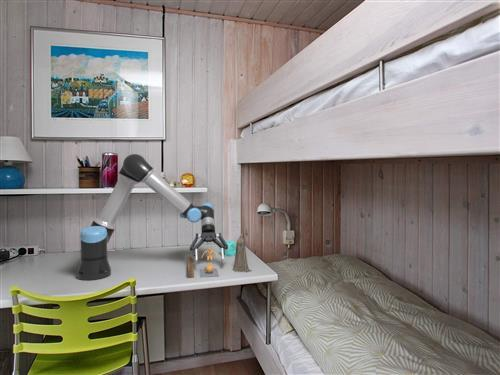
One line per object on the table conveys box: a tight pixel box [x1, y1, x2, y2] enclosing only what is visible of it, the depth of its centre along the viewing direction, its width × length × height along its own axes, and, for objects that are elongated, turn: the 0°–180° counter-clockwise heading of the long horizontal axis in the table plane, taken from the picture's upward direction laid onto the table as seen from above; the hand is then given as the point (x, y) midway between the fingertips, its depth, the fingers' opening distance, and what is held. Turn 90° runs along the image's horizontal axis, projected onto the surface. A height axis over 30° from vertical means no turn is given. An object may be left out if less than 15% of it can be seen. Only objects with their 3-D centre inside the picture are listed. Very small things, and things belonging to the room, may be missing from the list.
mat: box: [199, 268, 220, 278], centre depth 166 cm, size 9×12×1 cm
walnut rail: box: [187, 255, 195, 279], centre depth 172 cm, size 3×28×4 cm, turn 11°
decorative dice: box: [219, 240, 237, 257], centre depth 203 cm, size 8×8×8 cm
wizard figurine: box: [232, 222, 252, 273], centre depth 171 cm, size 10×8×25 cm
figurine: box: [201, 248, 219, 273], centre depth 166 cm, size 8×6×12 cm
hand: (209, 260), depth 170 cm, fingers open, 13 cm apart
